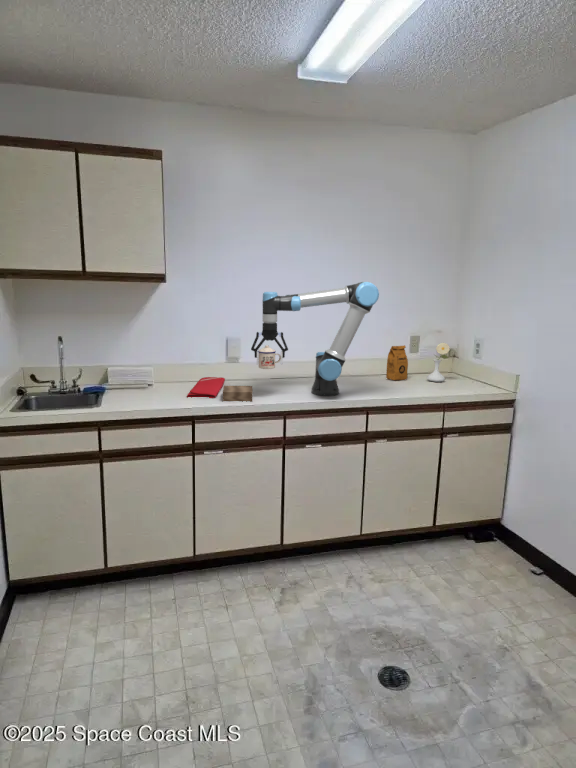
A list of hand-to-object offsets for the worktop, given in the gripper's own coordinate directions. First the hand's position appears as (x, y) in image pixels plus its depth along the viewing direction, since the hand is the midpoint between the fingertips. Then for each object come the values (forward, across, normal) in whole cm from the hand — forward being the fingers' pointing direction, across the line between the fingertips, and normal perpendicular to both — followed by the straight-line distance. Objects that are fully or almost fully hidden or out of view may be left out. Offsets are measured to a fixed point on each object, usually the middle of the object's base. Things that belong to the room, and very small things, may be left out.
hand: (269, 364), depth 266 cm
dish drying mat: (+18, +34, -19) cm, 43 cm away
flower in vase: (+19, -108, -48) cm, 120 cm away
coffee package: (+19, -84, -52) cm, 100 cm away
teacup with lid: (+2, 0, 0) cm, 2 cm away
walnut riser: (+18, +16, +2) cm, 24 cm away
